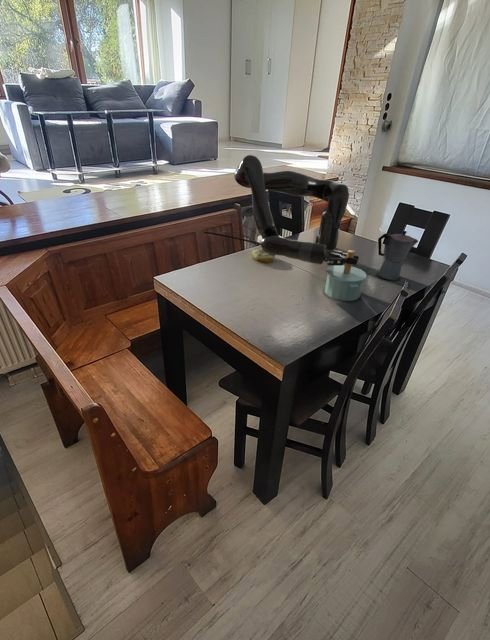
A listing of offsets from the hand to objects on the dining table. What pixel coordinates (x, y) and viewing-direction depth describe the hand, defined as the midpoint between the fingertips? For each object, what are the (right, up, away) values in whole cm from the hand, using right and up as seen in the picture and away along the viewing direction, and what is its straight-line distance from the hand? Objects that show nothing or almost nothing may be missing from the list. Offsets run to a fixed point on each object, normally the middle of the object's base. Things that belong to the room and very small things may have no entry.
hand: (357, 260), depth 134 cm
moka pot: (+22, -1, +24) cm, 33 cm away
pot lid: (-3, -4, +4) cm, 7 cm away
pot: (-3, -11, +9) cm, 15 cm away
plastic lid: (-26, +23, +56) cm, 66 cm away
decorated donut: (-31, +10, +38) cm, 50 cm away
